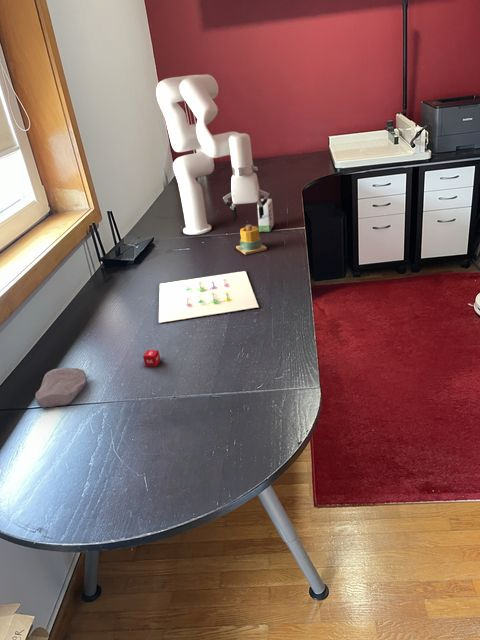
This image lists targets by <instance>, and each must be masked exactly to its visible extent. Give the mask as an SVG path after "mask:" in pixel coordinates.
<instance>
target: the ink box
mask: <svg viewBox="0 0 480 640" xmlns="http://www.w3.org/2000/svg"><path fill="white" fill-rule="evenodd" d="M264 199H265V198H260V200H261V201H263V200H264ZM256 204H257V203H256ZM256 206H257V207H256V208H257V221H258V230H259V233H261V232H271V230H272V229H273V227H274V226H275V225H274V206H273V199H272V198H268V200H267V202H266V203H265V205H264V206H263V210H264V215H262V218H260V216H259V205H258V204H257V205H256Z"/></svg>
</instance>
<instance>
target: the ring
mask: <svg viewBox="0 0 480 640" xmlns="http://www.w3.org/2000/svg"><path fill="white" fill-rule="evenodd" d="M239 232H240V239H241V241H243V242H254V241H257V240H259V237H260V232H259V226H253V225H252V231H246V226H245V227H241V228H240V230H239Z"/></svg>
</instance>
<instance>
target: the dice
mask: <svg viewBox="0 0 480 640" xmlns="http://www.w3.org/2000/svg"><path fill="white" fill-rule="evenodd" d="M142 358H143V362H144V365H145V367H158V365H159V363H160V362H161V357H160V352H159V350H158V349H147V350H146V351H145V353H143V355H142Z"/></svg>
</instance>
